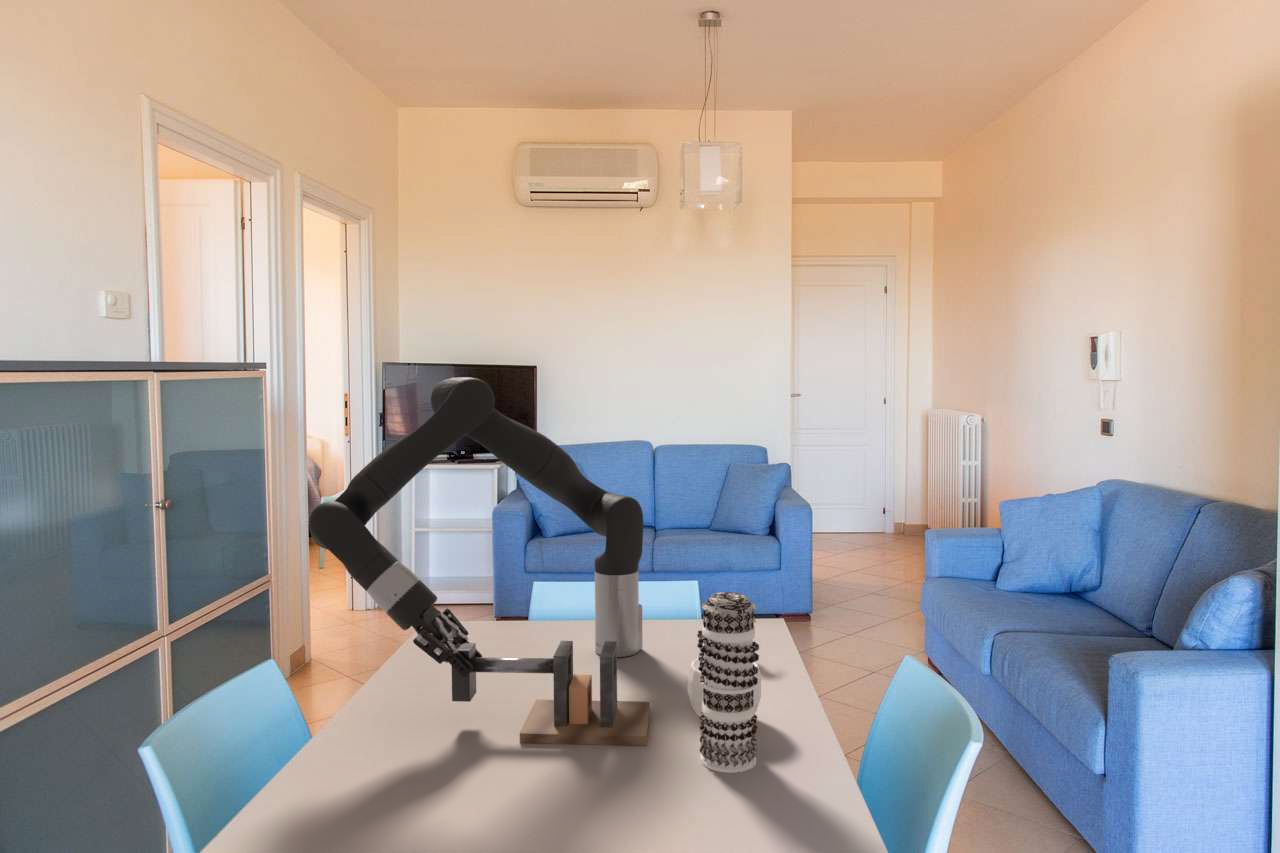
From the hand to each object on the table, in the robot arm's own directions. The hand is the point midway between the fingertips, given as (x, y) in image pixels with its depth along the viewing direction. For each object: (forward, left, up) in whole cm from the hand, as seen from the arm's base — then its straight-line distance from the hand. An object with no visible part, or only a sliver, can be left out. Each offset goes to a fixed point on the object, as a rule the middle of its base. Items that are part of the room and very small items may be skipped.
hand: (473, 666), depth 138 cm
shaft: (-4, +4, -5) cm, 8 cm away
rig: (-13, +13, -10) cm, 21 cm away
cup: (-31, +27, -10) cm, 43 cm away
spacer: (-13, +13, -8) cm, 20 cm away
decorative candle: (-21, +37, -10) cm, 44 cm away
